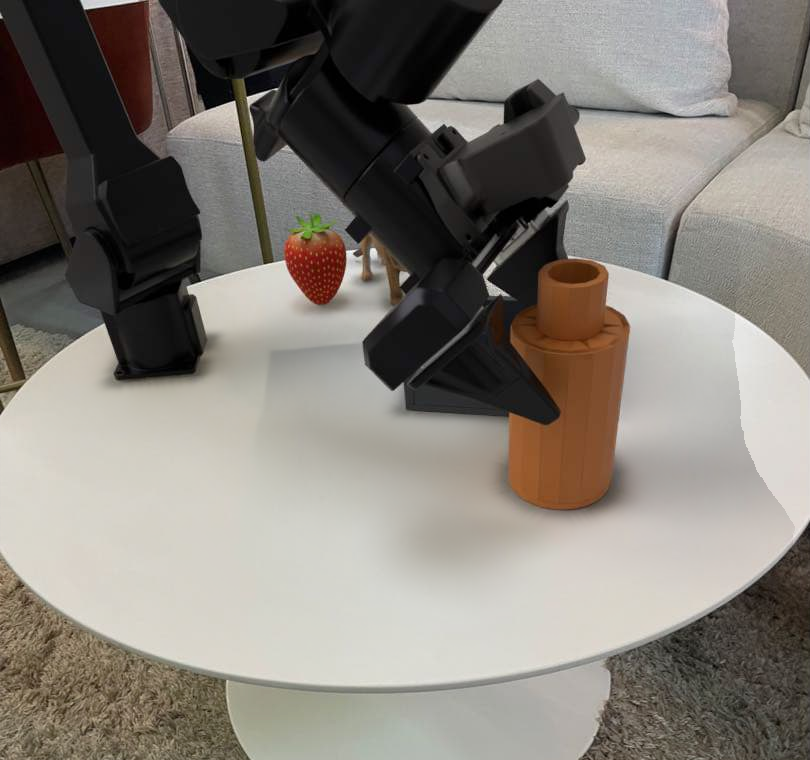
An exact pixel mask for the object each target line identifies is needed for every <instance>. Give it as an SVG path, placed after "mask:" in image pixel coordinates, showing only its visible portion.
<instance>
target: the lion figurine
mask: <svg viewBox="0 0 810 760" xmlns="http://www.w3.org/2000/svg"><path fill="white" fill-rule="evenodd" d="M360 245H361V246H360V248H358V249H357V250H355V251H354V252H352V256H354V257H355V258H359V257H361V261H362V262H361V263H362V271H361V275H360V280H361V282H369V281H372V280H374V274H373V272H372V269H371V261H372V260H371V250H372V245H373V247H374V249H375V251H376V254H377V255H376V256H377V261H378V263H379V264H384V265H385V272H386V276H387V281H388V286H389V291H390V300H389V302H390V304H389V305H390V306H392V307H394V306H395V305H396V304H397V303H398V302H399V301H400V300H401V299H402V298H403V297H404V294H403V291H402V290H401V289H400V288H399V287H400V286H401V283H400V275H401V272H403V273H407V272H406V271H405V270H404V269H403V267H402V266H401V265H400V264H399V263H398V262H397V261H396V260H395V259H394V258H393V257H392V256H391V255H390V254H389V253H388V252H387V251H386V249H385V248H384V247H383V246H382V245H381V244H380V243H379V242H378V241H377V240H376V239H375V238H374V237H373V236H372V235H371V234H369V235H368V236H367V237H365V238H364V239H363V240H362V241H361V242H360Z"/></svg>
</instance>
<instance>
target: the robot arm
mask: <svg viewBox="0 0 810 760" xmlns="http://www.w3.org/2000/svg"><path fill="white" fill-rule="evenodd" d="M157 1H158V3H159V5H160V7H161V8H162V10H163V11H164V13H165V14H166V16H167V17H168V18H169V20H170V21H171V23H172V24H173V26H174V27H175V29H176V30H177V31H178V33H179V35H180V36H181V37H182V39H183V40H184V42H185V43H186V45H187V46H188V48H189V49H190V50H191V52H192V54H193V55H194V57H196V59H197V60H198V61H199V63H200V64H201V65H202V66H203V67H204V68H205V69H206V70H207V71H208V72H210V73H211V74H212V75H213V76H214V77H216V78H219V79H221V80H227V79H229V80H240V79H246V78H248V77H251V76H252V77H253V76H254V75H257V74H260V73H263V72H266V71H269V70H273V69H275V68H278V67H281V66H285V65H287V64H290V66H289V68H288V69H287V71H286V73H285V75H284V77H283V78H282V79H281V80H282V81H281V82H280V84H279V86H278V88H277V89H271V90H269V91H268V92H266V93H265V94H264V95H262V96H260V97H259V98H258V99H256V100H254V101H253V102H251V104H250V105H249V107H248V109H249V113H250V115H251V119H252V125H253V132H252V134H253V136H252V143H253V149H254V155H255V157H256V159H257V160H258V161H260V162H264V163H265V162H267V161H268V160H270V159H271V158H272V157H273V156H274V155H276V154H277V153H278V152H280V151H281V150H282V149H283V148H285V147H286V146H287V147H288V148H289V149H290V151H292V152H293V153H294V154H295V155H296V156H297V158H299V159H300V161H301V162H302V163H303V164H304V165H305V166H306V167H307V168H308V169H309V170H310V171H311V172H312V173H313V174H314V175H315V176H316V178H317V179H318V180H319V181H321V183H322V184H323V185H324V186H325V187H326V188H327V189H328V190H329V191H330V192H331V194H333V195H334V197H335V198H336V199H337V200H338V201H339V202H340V203H342V205H343V206H344V207H345V208H346V209H347V210H348V211H349V213H351V215H352V216H353V217H354V218H353V219H352V220H351V222H350V223H349V224H348V225H347V226H346V228H345V229H344V231H345V232H346V233H347V234H348V235H349V236H350V237H351V238H352V240H353V241H354V242H355V243H356V244H357V245H359V244H361V241H362V240H363V239H364V238H365V237H367V236H368V235H369V234H371V235H372V236H373V237H374V238H375V239H376V240H377V241H378V242H379V243H380V244H381V245H382V246H383V247H384V248H385V249H386V251H387V252H388V253H389V254H390V255H391V256H392V257H393V258H394V259H395V260H396V261H397V262H398V263H399V264H400V265H401V266H402V267H403V269H404V270H405V271H406V272H405V273H407V274H408V277H407V278H406V279H405V280H404V281H403V282H402V284H400V287H399V288H400V289H401V291H402V293H404V295H403V298H402V299H401V300H400V301H399V302H398V303H397V304H396V305H395V306H392V307H391V309H389V310H388V312H387V313H386V314H385V315H384V316H383V317H382V318H381V319H380V321H378V323H377V324H376V325H375V326H374V328H373V329H372V330H371V331H370V332H369V333H368V334H367V335H366V337H365V338H363V340H362V341H361V343H362V350H363V351H362V352H363V359H364V366H365V367H367V369H368V370H369V371H370V372H371V373H372V374H373V375H374V376H375V377H376V378H377V379H379V381H380V382H381V383H382V384H383V385H384V386H385V387H387V389H388V390H390V392H394V391H395V390H396V389H397V388H399V387H400V386H401V385H402V384H404V381H405V380H407V379H408V378H409V377H410V376H411V375H412V374H413V373H415V372H416V373H415V374H414V375H413V377H412V378H411V379H410V381H409V382H408V383H407V385H408V386H409V387H410V388H412V389H413V390H417V389H418V388H419V387H421V386H422V385H424V386H428V387H431V388H435V389H439V390H442V391H446V392H449V393H453V394H457V395H460V396H464V397H467V398H470V399H474V400H476V401H479V402H482V403H485V404H488V405H491V406H493V407H496V408H499V409H502V410H504V411H507V412H510V413H512V414H515V415H518V416H521V417H523V418H526V419H529V420H532V421H534V422H537V423H540V424H542V425H549V424H551V423H552V422H554V421H555V420H557V419H558V418H559V417H560V415H561V411H560V409H559V407H558V406H557V404H556V403H555V401H554V400H553V398H552V397H551V395H550V394H549V392H548V391H547V389H546V388H545V387H544V385H543V384H542V383H541V381H540V380H539V379H538V378H537V376H536V375H535V374H534V372H533V371H532V370H531V368H530V367H529V366H528V365H527V363H526V362H525V361H524V359H523V358H522V357H521V355H520V354H519V353H518V351H517V350H516V349H515V348H514V346H513V345H512V344H511V342H510V341H509V340H508V339H507V337H506V335H505V333H504V315H503V297H502V296H503V295H502V293H500V294H499V295H497V296H498V297H496V298H495V299H494V300H493V301H492V302H491V303H490V304H488V305H487V306H486V307H485V308H484V307H483V306H482V305H483V304H484V303H485V301H486V300H487V299H488V297H489V296H490V292H489V289H488V285H487V283H486V280H487V282H488V283H490V284H492V285H493V286H495V287H496V288H498V289H499V290H501V291H502V292H504V293H505V294H506V295H507V296H511V297H513V298H515V299H516V300H518V301H519V302H521V303H522V304H524V305H525V306H527V307H530V306H533V305H537V299H538V274H539V271H540V270H541V269H542V267H543V266H544V265H546V264H548V263H551V262H554V261H557V260H562V259H569V256H568V253H567V251H566V248H565V244H564V237H565V230H566V221H567V215H568V212H569V210H570V204H569V200H568V199H566V200H565V201H563V202H562V203H561V204H560V205H559V206H558V207H557V208H556V209H554V210H553V211H552V212H551V213H550V214H549V212H548V211H547V210H546V209H547V208H549V209H552V208H553V207H554V206H555V205H556V204H557V203H558V202H559V201H560V200H561V198H562V197H563V196H564V194H565V193H566V192H567V190H568V189H569V187H570V185H569V184H570V182H572V180H573V178H574V171H575V170H576V169H577V167H578V166H581V165H584V163H586V160H587V158H586V154H585V153H584V150H583V146H582V144H581V141H580V137H579V136H578V133H577V130H576V128H575V127H576V125H577V123H578V122H579V120H580V116H581V114H580V111H579V109H578V107H576V106H575V105H570V104H569V103H568V99H567V97H566V95H565V92H561V93H559V94H556V93H554V92H553V91H552V89H550V88H549V87H548V86H547V85H546V84H545V83H544V82H543V81H542V80H540V79H539V78H537V79H535V80H533V81H531V82H529V83H528V84H526V85H523V86H522V87H519V88H518V89H516V90H514V91H513V92H512V93H511V94H510V95H508V96H507V98H505V99H504V103H503V123H502V124H500V123H498V124H496V125H494V126H493V127H492V128H490V129H489V130H488V131H487V132H484V133H483V134H482V135H479V136H477V137H475V138H473V139H472V140H470V141H468V140H467V139H466V138H465V137H464V136H463V135H462V134H461V133H460V131H459V130H457V128H456V127H454V126H453V125H448V126H447V125H446V124H445V123H443V124H442V125H440V126H439V127H438V128H437V129H436V130H434V131H433V132H431V131H430V130H429V128H428V127H427V126H426V125H425V124H424V123H423V122H422V120H421V119H419V118H418V116H417V115H416V114H415V112H414V111H413V110H412V109H411V108H410V107H409V106H412V105H419V104H422V103H424V102H426V101H427V100H429V98H430V97H431V96H432V95H433V93H434V92H435V91H436V89H437V88H438V87H439V86H440V84H441V83H442V82H443V80H444V79H445V78H446V77H447V75H448V74H449V72H450V71H451V70H452V69H453V67H454V66H455V65H456V64H457V62H458V61H459V60H460V58H461V57H462V55H463V54H464V53H465V52H466V50H467V49H468V48H469V46H470V45H471V43H472V42H473V41H474V40H475V38H476V37H478V35H479V33H480V32H481V30H483V28H484V26H485V25H486V24H487V23H488V21H489V20H490V19H491V17H492V16H493V15H494V14H495V12H496V11H497V9H498V8H499V7H500V5H502V4H503V1H504V0H157ZM0 16H1V19H2V20H3V22H4V25H5V27H6V29H7V31H8V33H9V35H10V37H11V40H12V42H13V44H14V46H15V49H16V51H17V52H18V55H19V57H20V59H21V61H22V65H23V66H24V68H25V71H26V72H27V75H28V76H29V79H30V81H31V83H32V85H33V87H34V89H35V92H36V94H37V97H38V98H39V101H40V102H41V105H42V107H43V109H44V111H45V114H46V116H47V118H48V120H49V123H50V125H51V127H52V129H53V131H54V133H55V135H56V137H57V140H58V142H59V144H60V146H61V149H62V151H63V153H64V155H65V158H66V161H67V162H66V163H67V164H66V178H65V182H66V183H65V193H64V195H65V196H64V210H65V213H66V215H67V218H68V221H69V223H70V226H71V228H72V231H73V234H74V236H75V238H76V239H75V240H74V241H75V242H74V244H73V248H72V251H71V254H70V258H69V260H68V263H67V265H66V270H65V273H64V277H65V281H66V282H67V283H68V286H69V288H70V289H71V291H72V292H73V295H74V296H75V298H76V300H77V301H78V302H79V303H80V304H82V305H85V306H87V307H91V308H93V309H96V310H99V311H100V314H101V318H102V321H103V323H104V326H105V329H106V332H107V334H108V337H109V340H110V343H111V346H112V349H113V351H114V354H115V357H116V360H117V365H116V367H115V370H114V372H113V377H114V380H116V381H129V380H130V381H131V380H141V379H151V378H164V377H176V376H188V375H193V374H195V373H196V372H197V369H198V366H199V363H200V360H201V357H203V354H204V353H205V349H206V345H207V343H208V336H207V333H206V329H205V324H204V321H203V317H202V313H201V309H200V306H199V302H198V297H197V296H196V295H195V294H194V293H191V294H189V291H188V287H187V283H186V279H187V278H189V277H192V276H196V275H198V274H200V273H201V267H202V264H201V260H202V259H201V251H202V248H201V247H202V240H203V232H202V226H201V221H200V217H199V215H200V214H201V210H200V208H199V207H198V206H197V203H196V202H195V201H194V199H193V197H192V195H191V192H190V190H189V187H188V184H187V182H186V178H185V175H184V171H183V168H182V166H181V164H180V163H179V162H178V161H177V159H176V158H175V157H174V156H173V155H168V156H164V157H162V158H161V156H160V155H158V154H157V153H156V152H155V151H154V150H152V149H151V147H149V145H147V144H146V143H144V142H143V140H141V139H140V138H139V137H138V135H137V133H136V131H135V129H134V126H133V124H132V121H131V119H130V117H129V114H128V112H127V110H126V107H125V105H124V102H123V99H122V97H121V95H120V93H119V90H118V88H117V85H116V83H115V80H114V78H113V76H112V74H111V73H112V72H111V70H110V68H109V66H108V63H107V61H106V58H105V56H104V54H103V51H102V48H101V47H100V44H99V42H98V39H97V37H96V34H95V32H94V29H93V26H92V25H91V22H90V19H89V17H88V15H87V12H86V10H85V7H84V5H83V3H82V1H81V0H0ZM291 63H292V64H291ZM493 263H494V265H496V266H495V267H494V268H493V270H492V271H491V272H490V274H489V275H488V276H487V278H486V280H485V276H484V274H485V273H486V272H487V270H488V269H489V268H490V266H491V265H492V264H493Z"/></svg>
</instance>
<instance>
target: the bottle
mask: <svg viewBox="0 0 810 760" xmlns="http://www.w3.org/2000/svg"><path fill="white" fill-rule="evenodd" d="M609 275H610V273H609V271H608V269H607V268H606V266H605V265H603V264H601V263H599V262H597V261H594V260H591V259H584V258H577V257H576V258H568V259H562V260H557V261H554V262H551V263H548V264H546V265H544V266H543V267H542V269H541V270H540V271H539V274H538V299H537V305H533V306H530V307H528V308H526V309H525V310H523V311H522V312H520V313H519V314H517V315H516V317H515V318H514V320H513V322H512V324H511V336H510V342H511V344H512V345H513V346H514V348H515V349H516V350H517V351H518V353H519V354H520V355H521V357H522V358H523V359H524V361H525V362H526V363H527V365H528V366H529V367H530V368H531V370H532V371H533V372H534V374H535V375H536V376H537V378H538V379H539V380H540V381H541V383H542V384H543V385H544V387H545V388H546V389H547V391H548V392H549V394H550V395H551V397H552V398H553V400H554V401H555V403H556V404H557V406H558V407H559V409H560V411H561V415H560V417H559V418H558V419H557V420H555V421H554V422H552V423H551V424H549V425H542V424H540V423H537V422H534V421H532V420H529V419H526V418H523V417H521V416H518V415H515V414H512V413H510V412H509V416H508V462H507V465H508V467H507V470H508V480H509V481H508V482H509V484H510V486H511V489H512V490H513V492H515V494H516V495H517V496H518V497H519V498H521V499H523V500H524V502H528V503H529V504H532V505H534V506H536V507H540V508H543V509H549V510H558V511H559V510H562V511H564V510H565V511H566V510H575V509H579V508H584V507H587V506H590V505H592V504H594V503H595V502H597V501H599V500H600V499H601V498H603V497H604V496H605V494H606V493H607V492H608V490H609V488H610V486H611V481H612V475H613V469H614V462H615V461H614V460H615V455H616V445H617V437H618V429H619V421H620V415H621V414H620V413H621V407H622V405H621V404H622V397H623V388H624V381H625V373H626V364H627V356H628V349H629V341H630V340H629V339H630V331H631V325H630V323H629V321H628V319H627V318H626V315H625V314H623V313H622V312H620V311H619V310H617V309H616V308H614V307H613V306H610V305H607V298H608V297H607V296H608V287H609V286H608V285H609V277H610V276H609Z"/></svg>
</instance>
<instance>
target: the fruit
mask: <svg viewBox="0 0 810 760" xmlns="http://www.w3.org/2000/svg"><path fill="white" fill-rule="evenodd" d="M308 215H309V222H307V221H305V220H303V219H302V218H301V217H300V216H299V215H297V214H295V217H296V221H297V222H298V224H299V225H300V226H301V227H299V228H286V227H284V228H283V229H284V230H285V231H287V232H290V233H291V234H290V235H288V237H287V239H286V241H285V244H284V248H283V253H284V254H283V255H284V260H285V266H286V268H287V271H288V273H289V275H290V277H291V278H292V280H293V281H294V283H295V284H296V286H297V287H298V288H299V290H300V291H301V293H302V294H303V295H304V296H305V297H306V298H307V299H308V301H310V302H311V303H312V304H314V305H317V306H325V305H327V304H329V303H330V302H331V301H332V300H333V299H334V298H335V296H336V295H337V293H338V291H340V288H341V285H342V283H343V280H344V277H345V274H346V269H347V260H348V259H347V249H346V246H345V242H344V240H343V239H342V237H341V236H340V234H339V233H338V232H336V231H335V230H333V229H331V228H330V227H332V226H334V225H335V224H336V223H337V222H338V221H339V219H336V220H335V221H332V222H329V223H325V224H322V222H323V219H322V215H321V214H319V213H316V214H314V215H313V217H312V212H311V211H309V212H308Z"/></svg>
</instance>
